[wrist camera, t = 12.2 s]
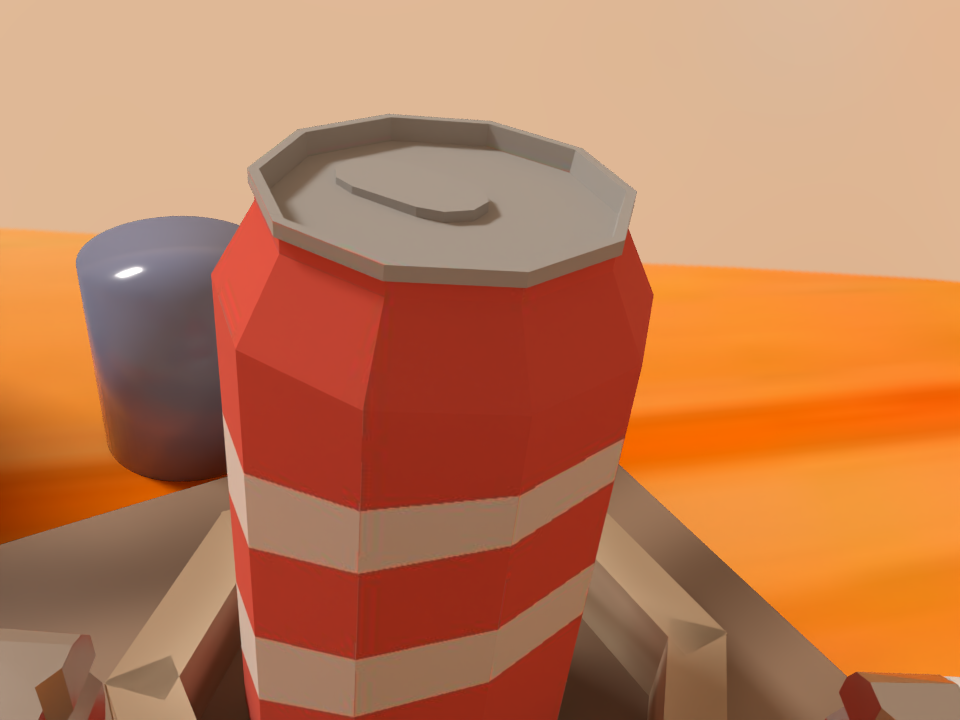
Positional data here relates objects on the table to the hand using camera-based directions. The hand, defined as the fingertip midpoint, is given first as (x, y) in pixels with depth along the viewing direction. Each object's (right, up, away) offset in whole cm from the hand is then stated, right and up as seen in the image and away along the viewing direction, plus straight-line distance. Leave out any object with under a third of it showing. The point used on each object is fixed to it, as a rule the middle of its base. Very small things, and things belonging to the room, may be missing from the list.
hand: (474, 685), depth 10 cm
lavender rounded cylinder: (-9, +1, +18) cm, 20 cm away
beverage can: (-2, -4, +9) cm, 10 cm away
